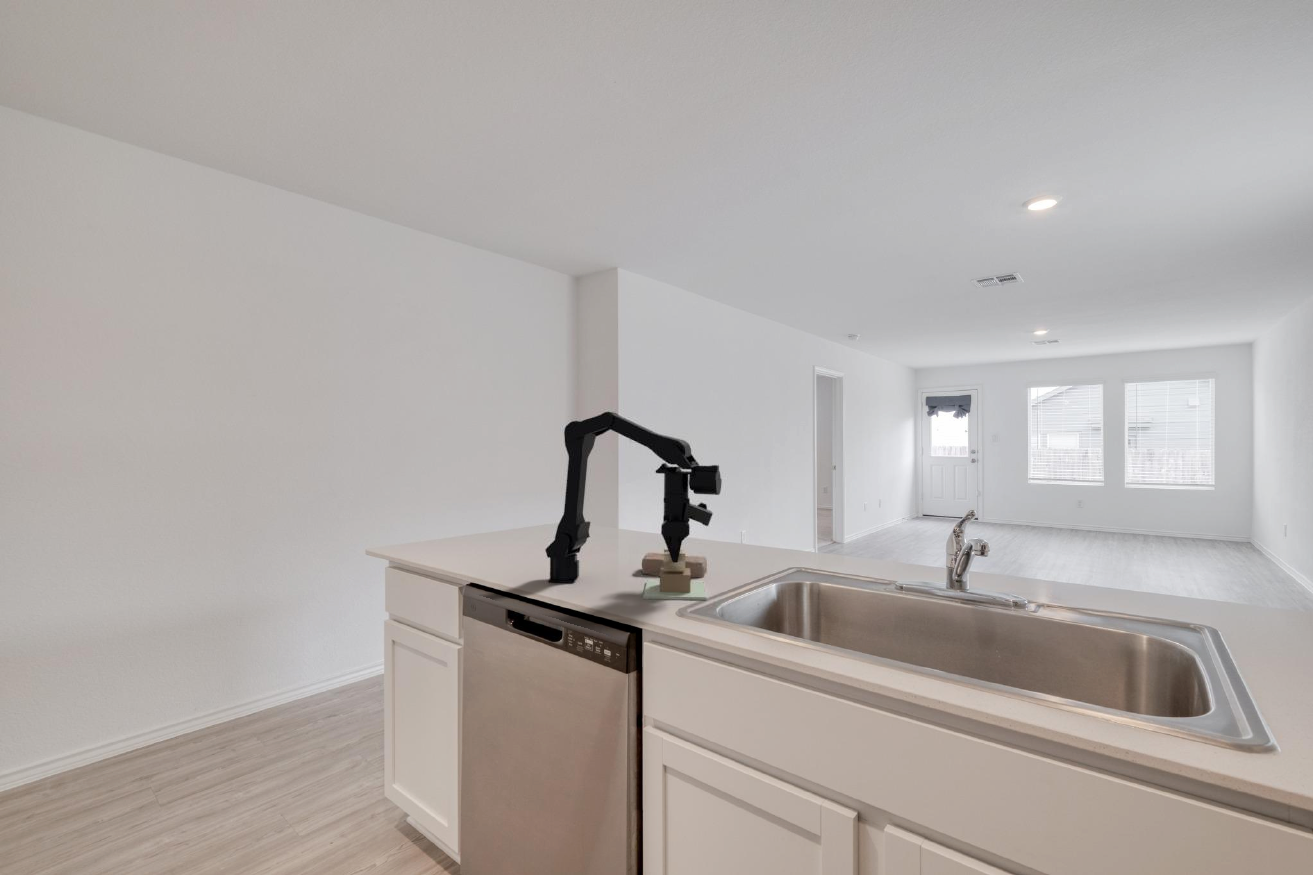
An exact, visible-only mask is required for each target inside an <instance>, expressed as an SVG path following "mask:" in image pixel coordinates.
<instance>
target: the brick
mask: <svg viewBox="0 0 1313 875" xmlns="http://www.w3.org/2000/svg"><path fill="white" fill-rule="evenodd" d="M663 554H664V553H658V552H647V553H646V554H645V555H644V557H643V558H642V561H641V570H642V574H645V575H652V576H660V571H661V568H663ZM707 561H708V560H707V557H706V556H698V555H697V556H695V555H685V568H690V574H691V578H704V577H705V575H706V574H707V573H708V567H707V566H708V563H707Z"/></svg>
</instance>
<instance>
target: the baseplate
mask: <svg viewBox="0 0 1313 875" xmlns="http://www.w3.org/2000/svg"><path fill="white" fill-rule="evenodd" d="M691 578H692V577H691V574H690V568H685V571H663V568H661V571H660V575H659V580H651V579H650V580H646V584H645V588H644V590H643V591H644V592H643V596H642V598H643V599H645V600H647V599H648V600H685V601H686V600H689V601H692V600H693V601H707V592H706V586H705V585H706V584H705V581H699V580H697V581H695V580H693V581H692V580H691Z"/></svg>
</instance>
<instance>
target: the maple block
mask: <svg viewBox="0 0 1313 875" xmlns="http://www.w3.org/2000/svg"><path fill="white" fill-rule="evenodd" d="M662 554H663V571H685V556H686V550H685V549H680V553H679V558H678V562H677V563H673V561H672V559H671V556H670V553H669V551H668V549H663V553H662Z"/></svg>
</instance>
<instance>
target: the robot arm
mask: <svg viewBox="0 0 1313 875" xmlns="http://www.w3.org/2000/svg"><path fill="white" fill-rule="evenodd" d="M608 431H612V432H615V433H617V434H619V435H621V436H623V437H625V438H627V439H629V440H631V441H634V442H636V443H638V444H640V445H641V446H644V447H645V448H648V449H649V450H651V451H652V452H653V454H655V455H656V457H659V459H661V460H662V461H664V463H661V465H660V466H659V467H658V468H657V469H656V470H655V473H656V474H664V476H663V477H664V479H663V481H664V482H663V516H662V517H663V522H662V523H661V528H660V531H661V532H660V534H661V535H662V537H663V540H664V542H665V545H666V549H667V550H668V551H669V553H670V556H671V559H672V561H673V563H677V562H678V558H679V553H680V550H681V549H682V548H681V547H682V544H683V541H684V540H685V539H686V538H687V537H689V536H690V523H689V522H690V520H693V521H695V522H697V523H700V524H702V525H703V526H705V527H709V524H710V522H711V519H712V516H713V515H714V513H713V512H712V511H711V510H709V509H708V505H707V503H704V502H702V501H701V502H699V503H698V504H697V505H696V504H693V503H691V501H690V497H689V489H690V491H693V494H695V495H709V496H711V495H713V496H714V495H715V496H719V495H720V494H721V490H722V481H723V480H722V478H721V477H722V476H721V472H720V466H719V464H718V465H717V464H712V465H700V464H699V463H698V461H697V460H696V458H695V457H694V455H693V454H692V448H691V445H690V443H689V442H687V441H686V440H684V439H680V438H676V437H673V436H668V435H663V434H659V433H657V432H655V431H653V430H651V429H648V428H646V427H644V426H642V425H640V424H637V423H636V422H634V421H631V420H629V419H627V418H625V417H624V416H622V415H619V414H618V412H617V413H616V412H614V411H604V412H602V413H601V414H599V415H595V416H593V417H589V418H586V419H583V420H572V421H570V422H569V423H568V424H567V425H565V428H564V430H563V436H564V446H565V449H566V452H567V455H568V462H567V463H568V464H567V474H566V484H565V485H566V486H565V497H564V508H563V515H562V517H561V518H560V521H559V523H558V525H557V527H556V532H555V536H554V540H553V541H552V542H551V543H550V544H549V545H548V546H547V547H546V548H545V549H544V550H545V553H546V557H547V558H548V559H549V578H548V580H547V582H548V583H568V584H569V583H571V584H572V583H576V581H577V579H578V578H579V577H580V560H579V559H578V554H579V553H580V551H581V549H582V547H583V546H584V545H585V544H586V542H587V541H588V539H589V538H590V527H591V521H589V520H588V521H586V519H585V517H584V507H585V506H584V504H585V492H586V485H587V484H586V480H587V471H588V461H589V460H588V459H589V456H590V454H591V453H592V451H593V448H594V446H595V441H596V438H597V437H599V436H601V435H603V434H605V433H607V432H608ZM668 464H669V465H674V466H669V465H668ZM675 465H676V466H675ZM688 470H690V471H688Z"/></svg>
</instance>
